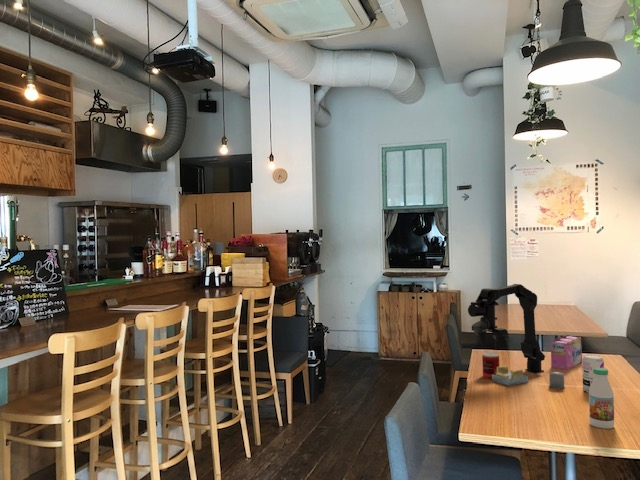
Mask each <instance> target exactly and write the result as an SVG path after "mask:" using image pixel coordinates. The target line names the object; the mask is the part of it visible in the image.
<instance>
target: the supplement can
mask: <svg viewBox="0 0 640 480" xmlns="http://www.w3.org/2000/svg"><path fill="white" fill-rule="evenodd" d="M581 364H582V365H581V366H582V390H583V391H584V392H585V391H586V392H585V393H587V392H588V393H587V394H589V389H590V386H591V384H592V382H593V379H594V375H593V374H594V373H593V369H594V368H605V360H604V359H603V357H602V356H600V355H595V354H594V355H593V354H585V355H583V356H582V362H581Z"/></svg>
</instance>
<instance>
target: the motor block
mask: <svg viewBox="0 0 640 480" xmlns="http://www.w3.org/2000/svg"><path fill="white" fill-rule="evenodd" d="M528 380H529V379H528V375H525V373H524V371H523V370H522V369H519V370H518V369H517V370H514V369H510V371H509V365H502V366H501V365H499V367H497V372H496V374H492V379H491V381H493V382H495V383H498V384H501V385H504V386H507V387H509V386H516V385H521V384H527V383H528V384H529V381H528Z"/></svg>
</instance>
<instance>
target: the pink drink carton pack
mask: <svg viewBox="0 0 640 480" xmlns="http://www.w3.org/2000/svg"><path fill="white" fill-rule="evenodd" d="M582 359H583V351H582V337H581V336H570V335H569V334H566V335H564V336H563V335H562V336H561V337H558V338H556V339H554V340H551V341H550V360H551V361H550V362H551V363H550V365H551V366H550V367H551V368H553V369H559V370H565V371H567V370H569V369H571V368H572V367H574V366H577V365H578V364H580V362H581V363H582Z"/></svg>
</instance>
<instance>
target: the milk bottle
mask: <svg viewBox="0 0 640 480" xmlns="http://www.w3.org/2000/svg"><path fill="white" fill-rule="evenodd" d="M593 373H594V374H593V375H594V379H593V382H592V384H591V386H590V389H589V393H588V408H589V409H588V413H589V414H588V418H589V419H588V420H589V424H590V425H591V426H593V427H594V428H597V429H604V430H610V429H613V428H614V427H615V404H614V403H615V400H614V399H615V398H614V391H613V389H612V386H611V385H610V381H609V380H608V379H609V378H608V377H609V370H608V369H607V368H605V367H604V368H594V369H593Z"/></svg>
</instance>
